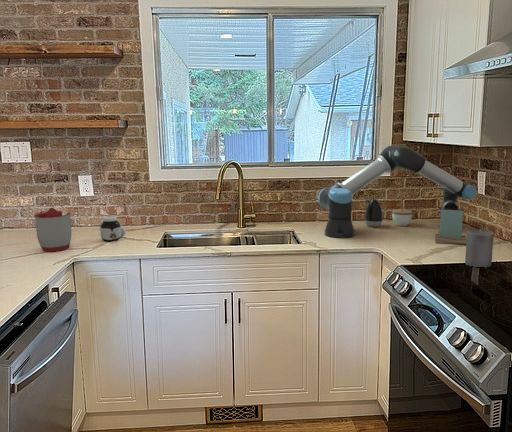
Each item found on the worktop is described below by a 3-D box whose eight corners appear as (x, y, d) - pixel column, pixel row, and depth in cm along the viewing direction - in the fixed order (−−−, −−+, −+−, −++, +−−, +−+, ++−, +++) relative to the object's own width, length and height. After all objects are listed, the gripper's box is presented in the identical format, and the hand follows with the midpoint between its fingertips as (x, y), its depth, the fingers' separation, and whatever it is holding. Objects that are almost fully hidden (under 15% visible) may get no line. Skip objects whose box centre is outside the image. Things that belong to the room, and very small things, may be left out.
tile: (439, 234, 240) (441, 209, 238) (461, 236, 237) (462, 210, 234) (439, 235, 238) (441, 210, 236) (461, 237, 235) (463, 211, 232)
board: (435, 234, 243) (435, 233, 243) (465, 236, 238) (465, 235, 238) (435, 243, 226) (435, 241, 226) (467, 245, 222) (467, 244, 222)
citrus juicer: (83, 246, 229) (80, 205, 225) (52, 255, 214) (47, 211, 210) (62, 242, 236) (58, 203, 233) (30, 250, 222) (26, 208, 218)
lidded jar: (406, 222, 274) (407, 206, 272) (414, 226, 263) (415, 209, 261) (388, 223, 272) (389, 207, 270) (396, 227, 262) (397, 210, 260)
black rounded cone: (370, 223, 273) (371, 197, 270) (386, 225, 265) (387, 199, 262) (360, 225, 266) (360, 199, 263) (375, 228, 258) (377, 201, 256)
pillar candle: (473, 259, 198) (475, 224, 196) (496, 265, 191) (499, 228, 188) (459, 264, 193) (462, 228, 190) (482, 270, 185) (485, 232, 182)
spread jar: (100, 242, 236) (98, 219, 234) (102, 237, 247) (101, 215, 245) (125, 241, 239) (123, 218, 236) (126, 235, 249) (125, 214, 247)
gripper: (463, 215, 259) (466, 224, 238) (437, 214, 264) (438, 223, 242) (464, 202, 258) (467, 209, 236) (438, 201, 262) (439, 208, 240)
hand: (452, 216), depth 239 cm, fingers closed
